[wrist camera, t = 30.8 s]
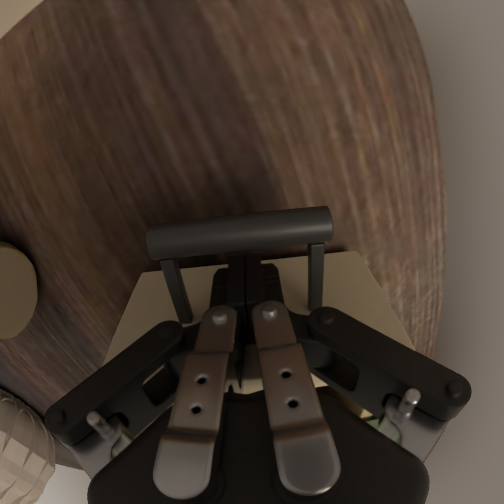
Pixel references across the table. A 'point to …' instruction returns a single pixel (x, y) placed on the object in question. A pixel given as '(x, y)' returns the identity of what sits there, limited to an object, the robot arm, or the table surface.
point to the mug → (16, 291)
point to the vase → (23, 452)
